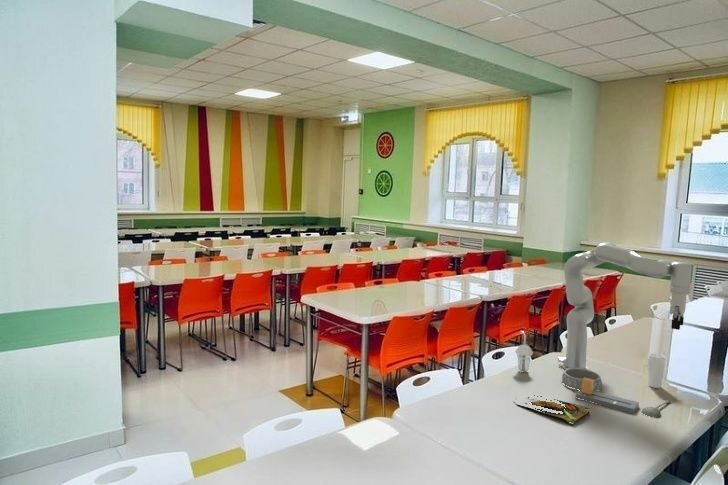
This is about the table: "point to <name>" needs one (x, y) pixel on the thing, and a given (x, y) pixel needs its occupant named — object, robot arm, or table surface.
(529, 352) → the cup with straw
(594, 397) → the fader console
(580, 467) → the table surface
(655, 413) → the soupspoon
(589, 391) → the fader knob
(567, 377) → the dog bowl
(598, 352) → the table surface
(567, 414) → the prepared meal
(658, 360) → the drinking glass
